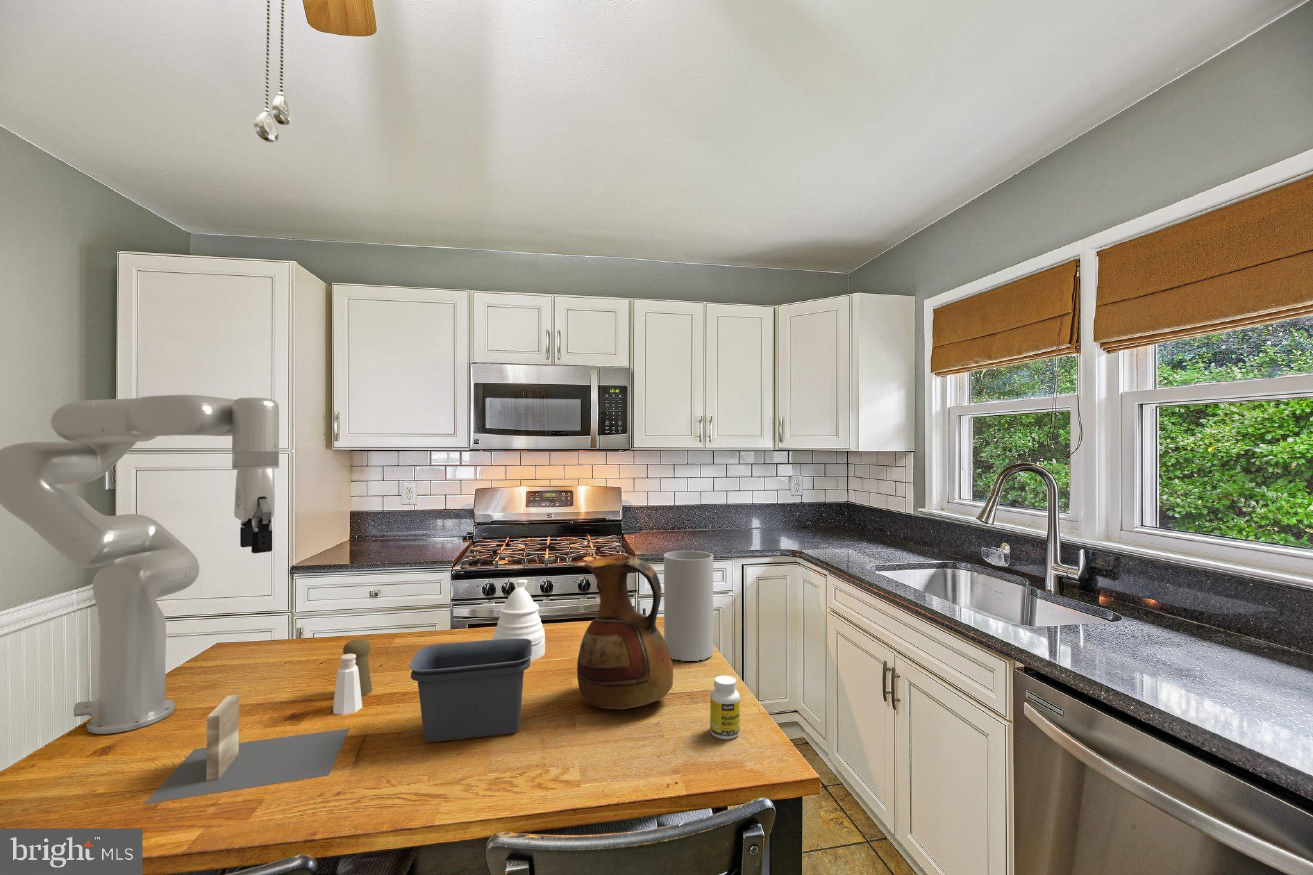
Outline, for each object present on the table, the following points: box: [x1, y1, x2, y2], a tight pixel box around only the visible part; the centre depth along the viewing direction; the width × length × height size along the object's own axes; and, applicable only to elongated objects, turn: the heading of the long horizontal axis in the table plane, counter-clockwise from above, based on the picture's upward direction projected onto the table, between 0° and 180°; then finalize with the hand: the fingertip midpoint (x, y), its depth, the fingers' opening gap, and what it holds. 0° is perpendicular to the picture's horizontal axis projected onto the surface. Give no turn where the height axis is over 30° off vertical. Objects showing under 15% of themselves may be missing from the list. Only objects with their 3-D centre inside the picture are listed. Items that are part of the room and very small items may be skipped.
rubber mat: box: [143, 727, 350, 805], centre depth 95 cm, size 24×16×1 cm, turn 108°
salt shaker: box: [332, 654, 363, 716], centre depth 114 cm, size 5×5×11 cm
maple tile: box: [206, 693, 240, 781], centre depth 93 cm, size 2×8×10 cm, turn 18°
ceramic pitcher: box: [576, 554, 674, 710], centre depth 119 cm, size 20×20×30 cm
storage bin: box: [408, 638, 532, 743], centre depth 108 cm, size 21×16×14 cm
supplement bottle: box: [709, 675, 741, 740], centre depth 105 cm, size 5×5×10 cm
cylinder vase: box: [663, 550, 714, 662], centre depth 146 cm, size 12×12×25 cm
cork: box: [342, 638, 373, 698], centre depth 123 cm, size 6×6×11 cm
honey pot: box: [492, 579, 546, 662], centre depth 146 cm, size 13×13×18 cm
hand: (255, 549), depth 111 cm, fingers open, 9 cm apart
